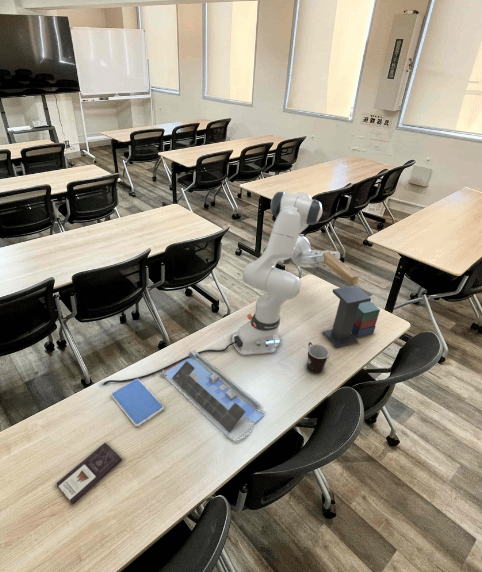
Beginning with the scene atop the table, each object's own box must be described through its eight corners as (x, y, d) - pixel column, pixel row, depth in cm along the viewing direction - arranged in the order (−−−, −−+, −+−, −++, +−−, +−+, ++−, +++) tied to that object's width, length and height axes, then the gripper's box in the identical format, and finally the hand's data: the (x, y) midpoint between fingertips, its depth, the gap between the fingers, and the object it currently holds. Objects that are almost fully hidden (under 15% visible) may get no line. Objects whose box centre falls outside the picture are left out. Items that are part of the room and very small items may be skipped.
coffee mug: (325, 377, 151) (329, 360, 146) (304, 373, 153) (307, 356, 147) (324, 357, 161) (328, 341, 155) (304, 354, 162) (308, 338, 156)
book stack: (356, 338, 172) (364, 313, 164) (338, 319, 184) (344, 295, 175) (373, 334, 175) (381, 309, 166) (354, 315, 186) (361, 292, 178)
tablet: (165, 408, 136) (165, 406, 136) (136, 428, 129) (136, 426, 129) (138, 379, 148) (137, 377, 147) (110, 396, 141) (109, 393, 140)
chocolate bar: (121, 458, 119) (72, 502, 107) (121, 460, 119) (73, 504, 107) (105, 442, 123) (56, 483, 112) (105, 444, 124) (57, 484, 112)
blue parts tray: (194, 354, 161) (193, 344, 158) (270, 416, 134) (272, 407, 131) (160, 374, 151) (159, 365, 147) (236, 447, 124) (237, 437, 121)
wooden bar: (350, 285, 156) (352, 277, 154) (321, 260, 174) (323, 252, 172) (357, 283, 157) (359, 276, 155) (327, 259, 175) (329, 251, 173)
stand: (335, 348, 166) (347, 303, 151) (322, 333, 174) (332, 289, 160) (357, 343, 169) (371, 298, 155) (343, 328, 178) (355, 284, 163)
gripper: (294, 255, 181) (308, 254, 168) (329, 249, 186) (346, 248, 173) (296, 267, 181) (310, 267, 168) (331, 261, 187) (347, 261, 174)
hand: (328, 257), depth 171 cm, fingers closed on wooden bar, 3 cm apart
